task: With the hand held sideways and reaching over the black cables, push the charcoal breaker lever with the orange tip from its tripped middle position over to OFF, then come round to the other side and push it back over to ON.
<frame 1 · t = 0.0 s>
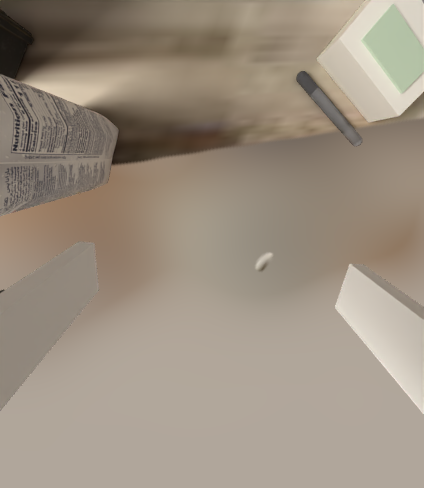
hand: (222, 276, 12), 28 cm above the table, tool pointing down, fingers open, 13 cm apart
cable bundle: (410, 18, 30), on the table
breaker housing: (410, 18, 30), on the table
juice carton: (91, 148, 36), on the table
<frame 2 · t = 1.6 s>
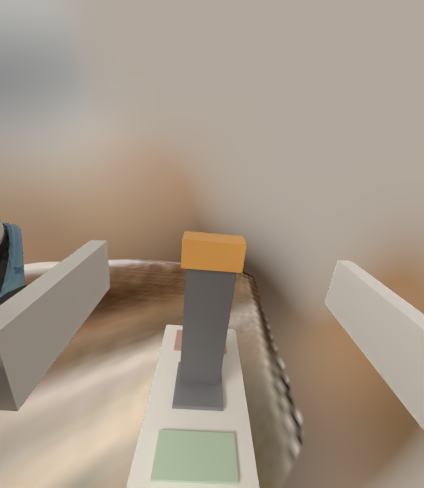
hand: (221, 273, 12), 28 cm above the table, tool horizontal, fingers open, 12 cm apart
breaker housing: (195, 416, 32), on the table
breaker lever: (206, 316, 26), point 17 cm above the table, hinge at 0.0°
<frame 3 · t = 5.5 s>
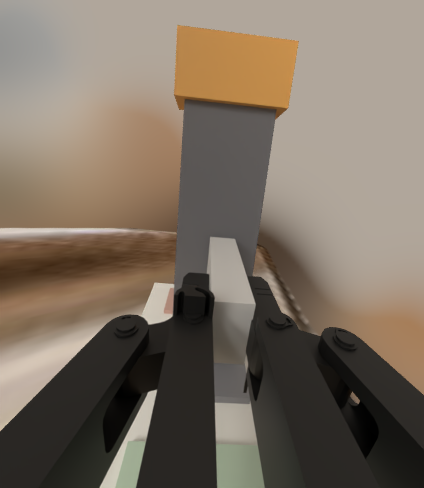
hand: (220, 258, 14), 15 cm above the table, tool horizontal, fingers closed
breaker housing: (198, 414, 20), on the table
breaker lever: (218, 221, 15), point 17 cm above the table, hinge at -6.7°, touching gripper
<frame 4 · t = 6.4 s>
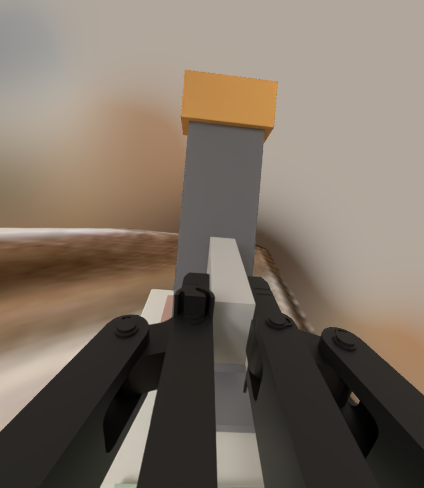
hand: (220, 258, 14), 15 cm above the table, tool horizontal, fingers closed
breaker housing: (197, 436, 18), on the table
breaker lever: (217, 224, 16), point 16 cm above the table, hinge at -22.4°, touching gripper
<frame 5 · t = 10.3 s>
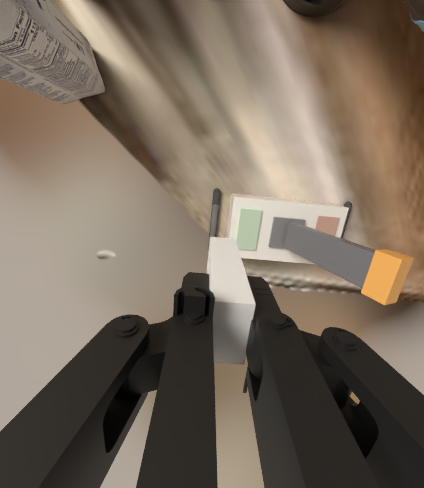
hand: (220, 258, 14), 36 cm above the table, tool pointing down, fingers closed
cable bundle: (277, 225, 51), on the table
breaker housing: (277, 225, 51), on the table
breaker lever: (331, 253, 36), point 16 cm above the table, hinge at -22.5°
juice carton: (77, 76, 42), on the table
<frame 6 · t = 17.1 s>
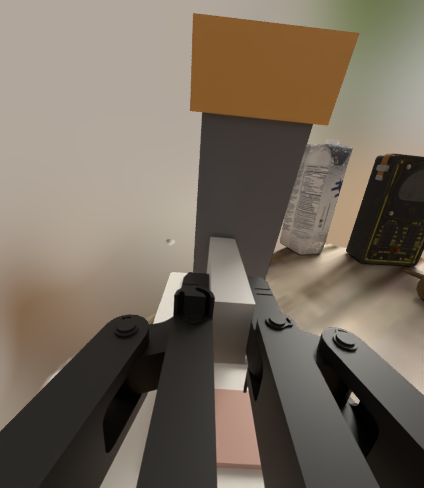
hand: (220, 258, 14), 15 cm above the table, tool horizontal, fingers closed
breaker housing: (211, 382, 23), on the table
voltmeter: (378, 260, 60), on the table
breaker lever: (235, 230, 15), point 17 cm above the table, hinge at -14.5°, touching gripper
juice carton: (299, 249, 62), on the table
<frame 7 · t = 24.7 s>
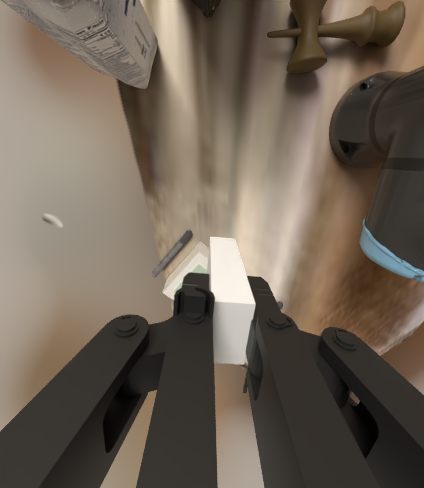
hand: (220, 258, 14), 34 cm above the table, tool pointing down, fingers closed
cable bundle: (219, 287, 55), on the table
breaker housing: (219, 287, 55), on the table
kendama: (322, 39, 38), on the table
juice carton: (128, 56, 39), on the table
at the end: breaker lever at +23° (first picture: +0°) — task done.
